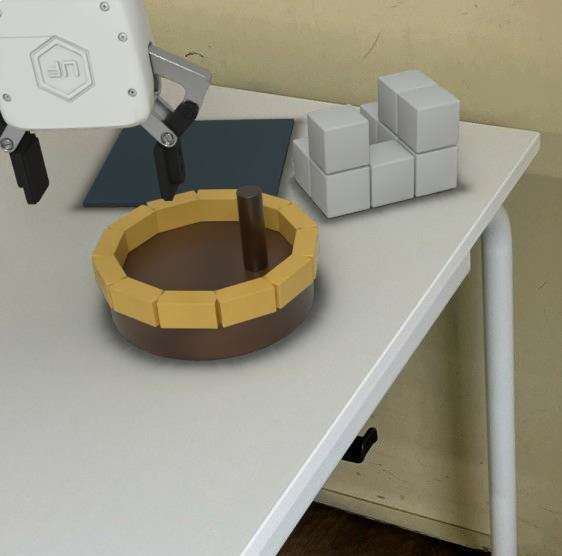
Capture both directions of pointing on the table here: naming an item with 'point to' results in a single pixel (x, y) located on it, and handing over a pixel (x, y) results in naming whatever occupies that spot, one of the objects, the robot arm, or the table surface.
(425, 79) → the puzzle cube
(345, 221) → the table surface
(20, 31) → the robot arm
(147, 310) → the ring
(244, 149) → the mat
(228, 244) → the peg stand
